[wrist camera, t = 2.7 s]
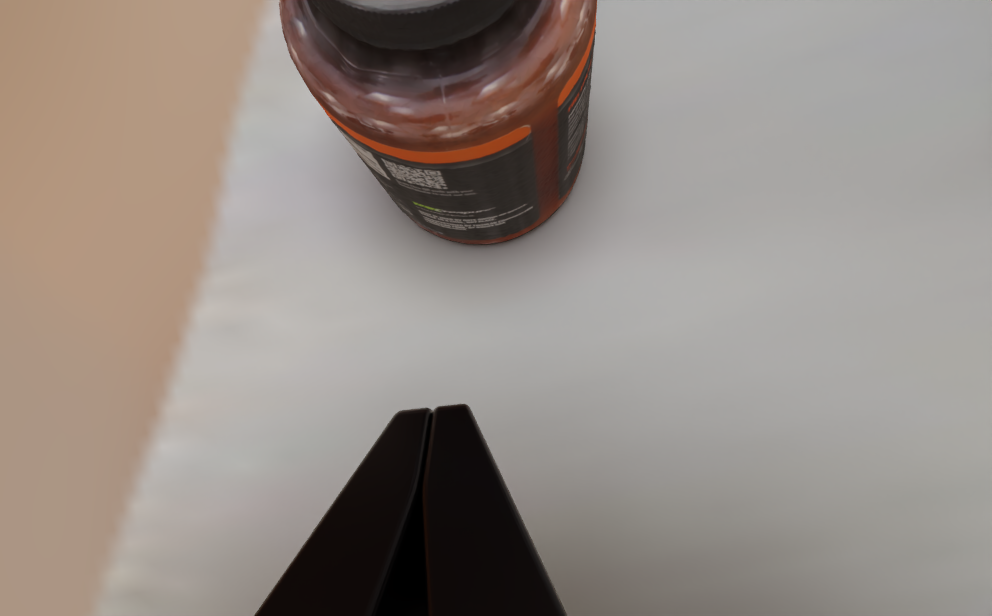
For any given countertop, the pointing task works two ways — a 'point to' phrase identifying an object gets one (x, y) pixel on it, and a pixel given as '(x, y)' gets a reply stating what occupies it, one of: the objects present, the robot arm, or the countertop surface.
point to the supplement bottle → (455, 102)
